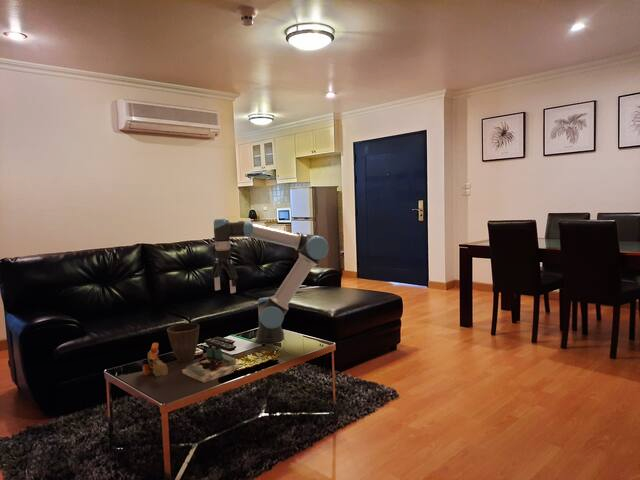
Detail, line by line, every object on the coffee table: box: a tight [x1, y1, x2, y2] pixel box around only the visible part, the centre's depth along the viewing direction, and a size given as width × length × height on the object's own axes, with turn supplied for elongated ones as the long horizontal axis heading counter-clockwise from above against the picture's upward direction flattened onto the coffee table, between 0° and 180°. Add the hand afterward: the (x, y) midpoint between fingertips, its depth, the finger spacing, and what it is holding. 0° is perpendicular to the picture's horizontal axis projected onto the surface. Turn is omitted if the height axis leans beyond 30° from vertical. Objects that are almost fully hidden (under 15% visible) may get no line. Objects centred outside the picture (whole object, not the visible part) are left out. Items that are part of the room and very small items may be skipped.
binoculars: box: [198, 342, 223, 370], centre depth 197 cm, size 9×11×10 cm
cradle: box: [181, 354, 242, 384], centre depth 198 cm, size 19×18×4 cm
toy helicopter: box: [142, 342, 169, 378], centre depth 193 cm, size 8×21×14 cm, turn 39°
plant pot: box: [166, 322, 200, 363], centre depth 214 cm, size 15×15×16 cm
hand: (225, 291), depth 223 cm, fingers open, 13 cm apart
